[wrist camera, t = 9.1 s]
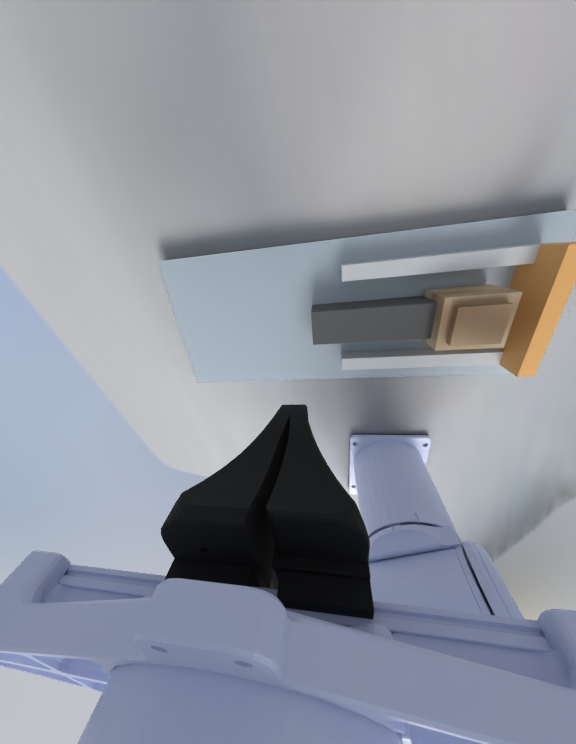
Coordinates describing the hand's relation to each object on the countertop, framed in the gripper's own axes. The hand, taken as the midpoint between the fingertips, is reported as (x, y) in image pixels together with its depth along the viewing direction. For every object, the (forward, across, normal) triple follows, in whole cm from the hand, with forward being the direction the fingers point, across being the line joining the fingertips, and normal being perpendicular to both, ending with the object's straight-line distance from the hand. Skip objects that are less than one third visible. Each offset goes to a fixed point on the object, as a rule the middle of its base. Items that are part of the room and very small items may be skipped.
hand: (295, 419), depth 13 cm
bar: (+9, -5, -3) cm, 10 cm away
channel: (+10, -3, -3) cm, 11 cm away
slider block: (+8, -11, -3) cm, 14 cm away
